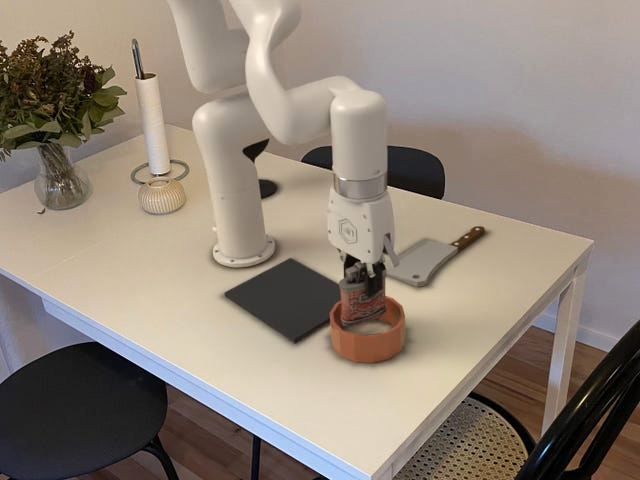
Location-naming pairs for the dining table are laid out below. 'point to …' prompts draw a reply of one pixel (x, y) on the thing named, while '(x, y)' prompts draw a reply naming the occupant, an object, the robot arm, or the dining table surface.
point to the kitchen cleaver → (429, 258)
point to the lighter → (360, 297)
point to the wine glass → (252, 152)
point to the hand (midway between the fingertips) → (363, 286)
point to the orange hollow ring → (370, 346)
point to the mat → (288, 298)
